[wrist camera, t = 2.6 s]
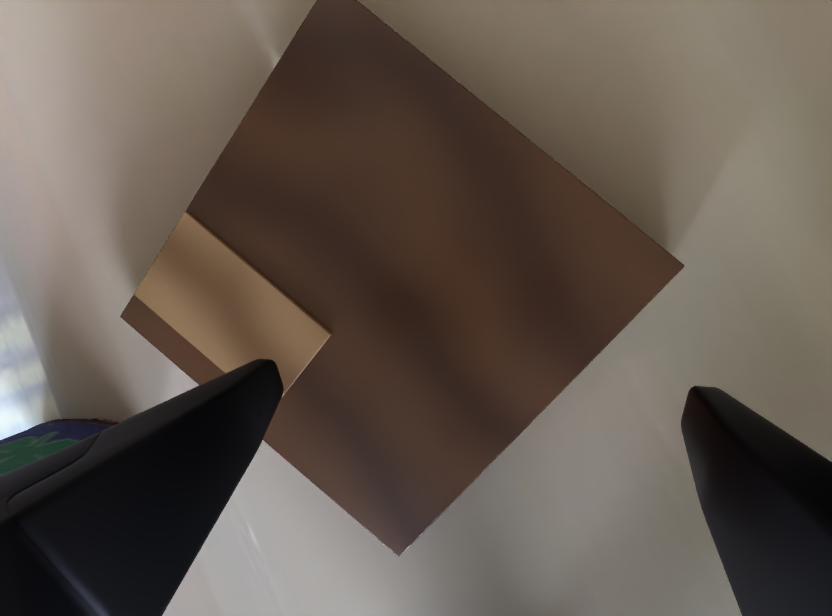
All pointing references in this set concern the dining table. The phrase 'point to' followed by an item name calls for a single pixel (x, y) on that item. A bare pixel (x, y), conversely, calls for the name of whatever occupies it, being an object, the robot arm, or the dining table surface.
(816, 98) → the dining table surface
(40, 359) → the dining table surface
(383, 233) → the serving board
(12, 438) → the flask
